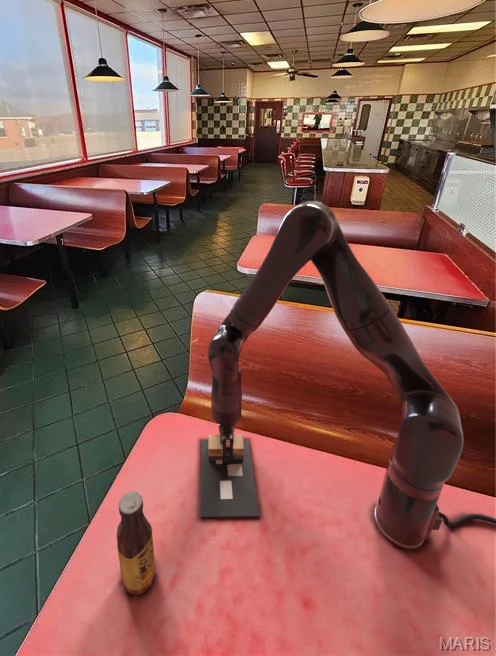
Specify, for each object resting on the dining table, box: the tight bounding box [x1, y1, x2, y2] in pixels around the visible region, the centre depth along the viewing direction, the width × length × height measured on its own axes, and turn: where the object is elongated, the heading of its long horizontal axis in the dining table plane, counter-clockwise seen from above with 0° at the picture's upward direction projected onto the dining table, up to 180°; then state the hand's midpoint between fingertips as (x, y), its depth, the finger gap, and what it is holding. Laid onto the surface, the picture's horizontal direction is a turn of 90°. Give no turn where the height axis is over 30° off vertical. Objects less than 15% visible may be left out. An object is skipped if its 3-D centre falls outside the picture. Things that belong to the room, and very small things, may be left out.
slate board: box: [200, 439, 261, 519], centre depth 81 cm, size 13×20×1 cm, turn 1°
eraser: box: [207, 433, 244, 460], centre depth 86 cm, size 9×4×4 cm, turn 90°
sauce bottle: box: [116, 490, 156, 596], centre depth 59 cm, size 6×6×20 cm
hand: (225, 448), depth 86 cm, fingers open, 8 cm apart
